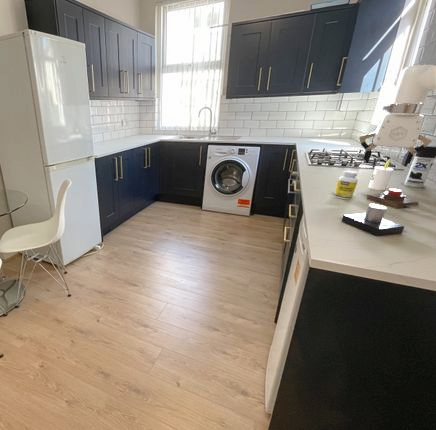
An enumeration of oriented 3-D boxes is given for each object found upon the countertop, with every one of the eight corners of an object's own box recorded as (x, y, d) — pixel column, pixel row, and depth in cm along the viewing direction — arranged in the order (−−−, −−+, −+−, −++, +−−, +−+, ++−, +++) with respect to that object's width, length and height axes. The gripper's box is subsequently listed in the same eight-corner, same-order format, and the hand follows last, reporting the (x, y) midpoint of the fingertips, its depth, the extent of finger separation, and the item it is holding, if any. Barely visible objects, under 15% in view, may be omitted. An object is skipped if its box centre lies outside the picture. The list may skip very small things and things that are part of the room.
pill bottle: (331, 197, 124) (339, 171, 120) (335, 194, 128) (343, 169, 123) (349, 200, 119) (358, 174, 115) (353, 197, 123) (362, 171, 119)
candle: (364, 187, 137) (375, 157, 132) (381, 188, 135) (392, 157, 130) (370, 191, 132) (382, 159, 126) (388, 192, 130) (400, 160, 124)
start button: (403, 195, 114) (405, 191, 113) (395, 196, 113) (397, 191, 112) (392, 193, 118) (394, 188, 117) (384, 193, 117) (386, 188, 116)
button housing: (416, 207, 112) (420, 197, 111) (396, 208, 110) (400, 199, 109) (384, 197, 123) (388, 189, 122) (366, 199, 121) (369, 190, 120)
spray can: (402, 187, 138) (418, 146, 130) (403, 184, 142) (419, 144, 134) (421, 190, 133) (439, 147, 125) (422, 187, 137) (440, 146, 130)
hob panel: (401, 233, 90) (404, 226, 89) (376, 236, 88) (379, 228, 87) (364, 219, 101) (366, 212, 100) (341, 221, 99) (343, 214, 98)
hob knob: (384, 222, 92) (390, 207, 90) (374, 223, 91) (379, 208, 89) (371, 217, 96) (376, 202, 94) (360, 218, 95) (365, 203, 93)
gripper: (371, 109, 89) (353, 163, 95) (449, 110, 80) (423, 169, 87) (366, 109, 94) (350, 159, 101) (439, 109, 86) (416, 164, 92)
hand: (384, 163), depth 94 cm, fingers open, 9 cm apart
